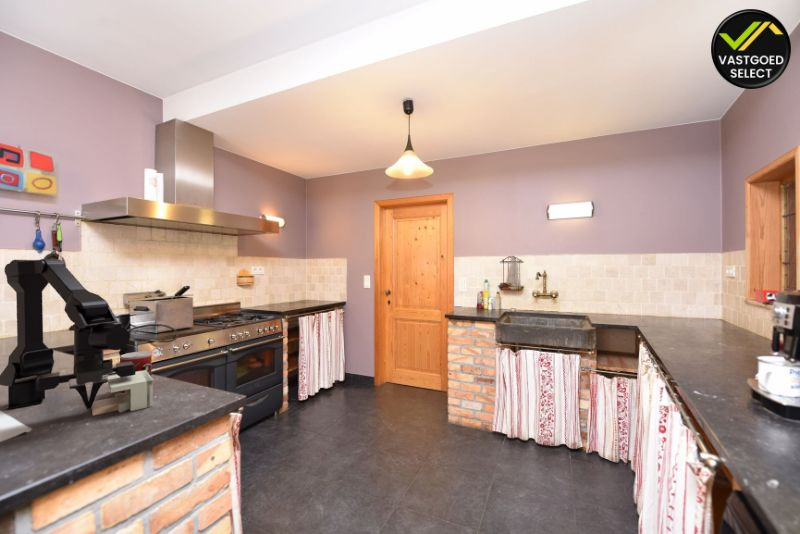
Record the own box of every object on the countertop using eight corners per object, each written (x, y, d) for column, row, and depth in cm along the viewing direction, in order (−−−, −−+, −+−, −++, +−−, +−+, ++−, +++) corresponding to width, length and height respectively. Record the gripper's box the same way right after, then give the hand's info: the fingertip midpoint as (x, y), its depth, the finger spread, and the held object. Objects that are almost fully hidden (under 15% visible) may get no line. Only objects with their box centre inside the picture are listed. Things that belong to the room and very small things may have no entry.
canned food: (134, 395, 101) (134, 357, 101) (112, 393, 103) (112, 356, 103) (158, 386, 109) (158, 351, 109) (137, 385, 110) (137, 350, 110)
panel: (92, 417, 87) (92, 408, 87) (91, 410, 92) (91, 401, 92) (141, 406, 94) (141, 398, 94) (138, 400, 99) (138, 392, 99)
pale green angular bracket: (110, 415, 87) (111, 387, 87) (107, 401, 96) (107, 376, 96) (153, 405, 93) (153, 380, 93) (145, 393, 103) (145, 370, 103)
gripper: (33, 360, 77) (33, 430, 77) (138, 347, 90) (138, 407, 89) (37, 351, 85) (37, 415, 85) (133, 341, 98) (132, 396, 98)
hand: (88, 408), depth 89 cm, fingers closed
